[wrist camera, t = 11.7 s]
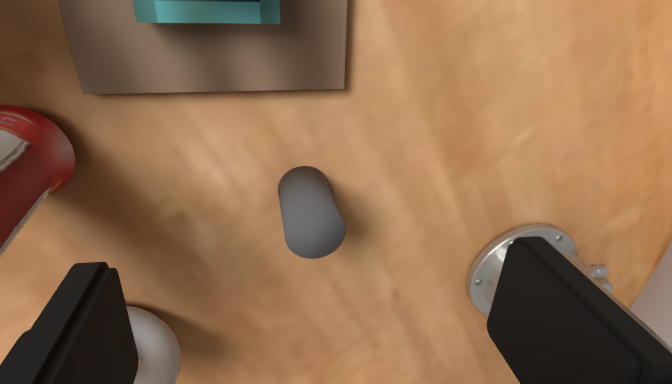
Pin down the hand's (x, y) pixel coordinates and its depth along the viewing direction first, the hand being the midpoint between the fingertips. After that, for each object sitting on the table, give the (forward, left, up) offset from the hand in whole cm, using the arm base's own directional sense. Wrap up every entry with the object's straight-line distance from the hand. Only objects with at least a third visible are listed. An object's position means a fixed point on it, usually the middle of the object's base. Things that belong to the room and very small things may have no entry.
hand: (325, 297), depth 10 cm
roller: (-2, +10, -24) cm, 26 cm away
